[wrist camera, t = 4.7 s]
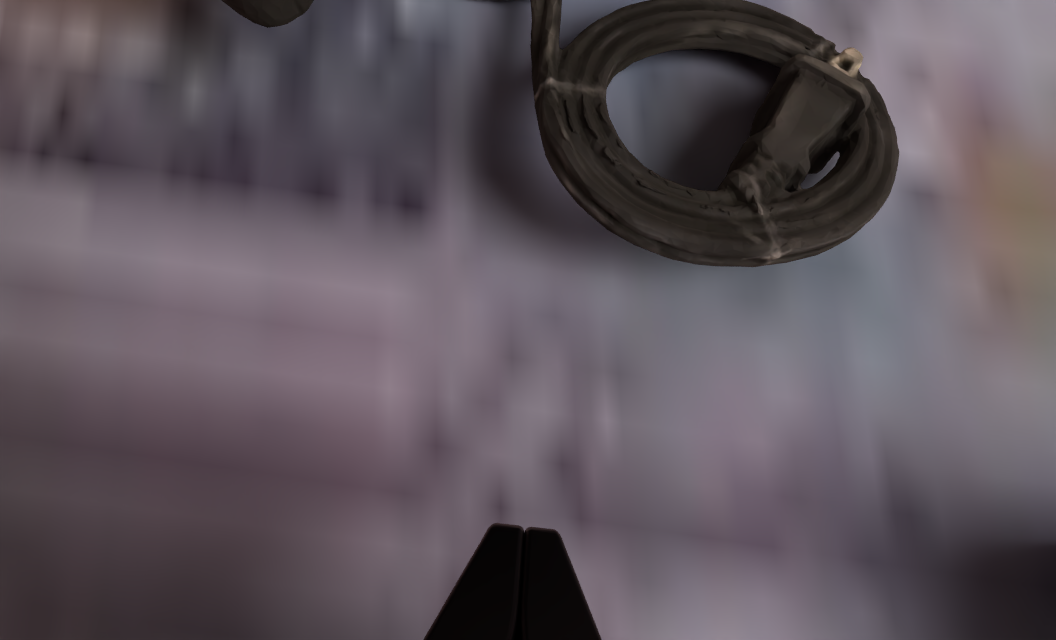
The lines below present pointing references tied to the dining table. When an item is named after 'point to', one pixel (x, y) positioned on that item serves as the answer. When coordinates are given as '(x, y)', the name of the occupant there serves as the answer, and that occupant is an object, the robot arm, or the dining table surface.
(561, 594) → the robot arm
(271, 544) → the dining table surface
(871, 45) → the dining table surface
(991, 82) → the dining table surface
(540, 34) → the milk frother
